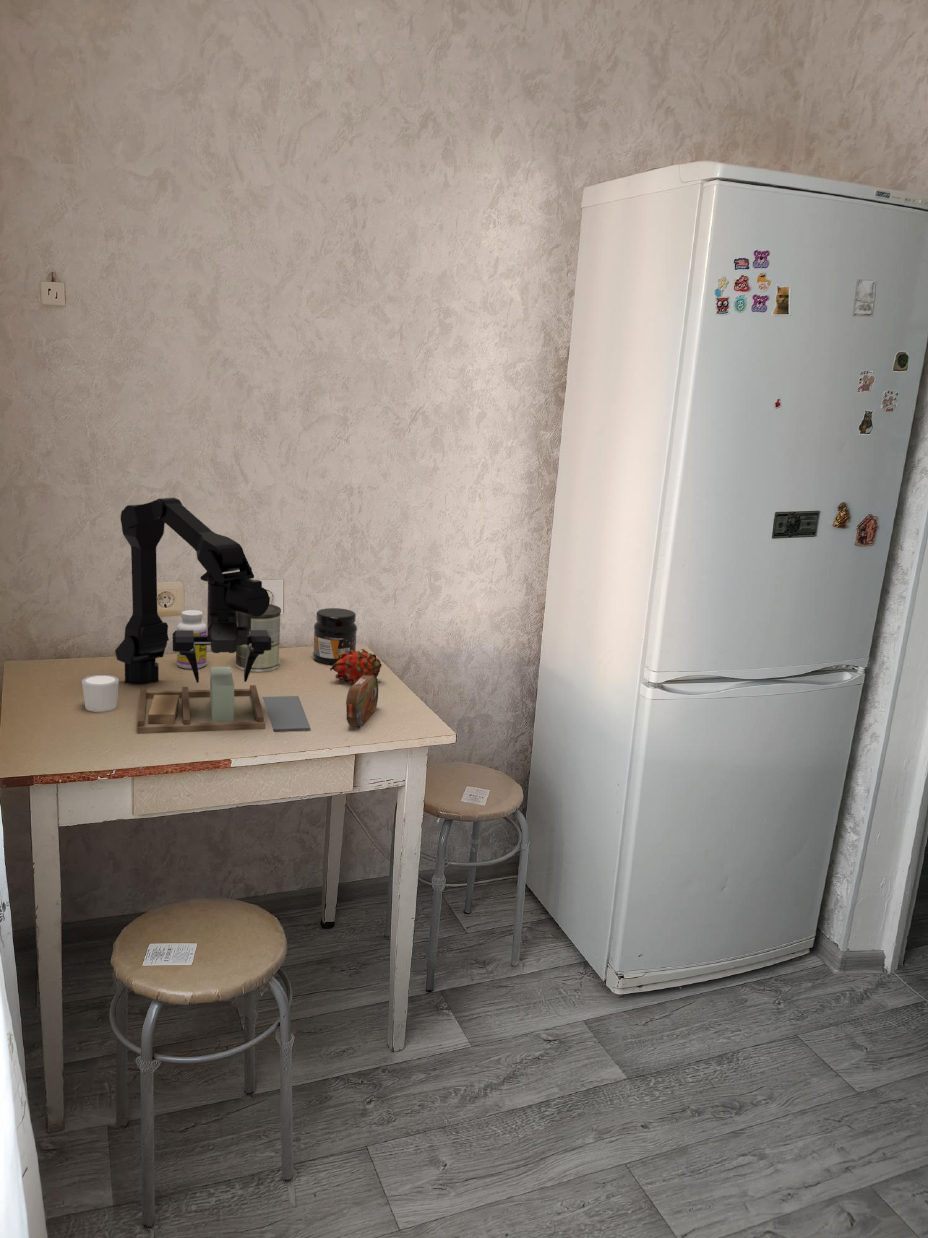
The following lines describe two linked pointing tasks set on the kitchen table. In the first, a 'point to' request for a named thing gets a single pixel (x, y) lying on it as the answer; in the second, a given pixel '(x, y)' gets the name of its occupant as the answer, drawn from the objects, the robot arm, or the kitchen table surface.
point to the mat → (286, 713)
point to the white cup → (100, 692)
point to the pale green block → (221, 694)
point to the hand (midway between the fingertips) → (221, 681)
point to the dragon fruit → (356, 665)
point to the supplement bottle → (194, 622)
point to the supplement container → (334, 634)
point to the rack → (186, 725)
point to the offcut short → (163, 709)
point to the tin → (362, 700)
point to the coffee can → (272, 625)
